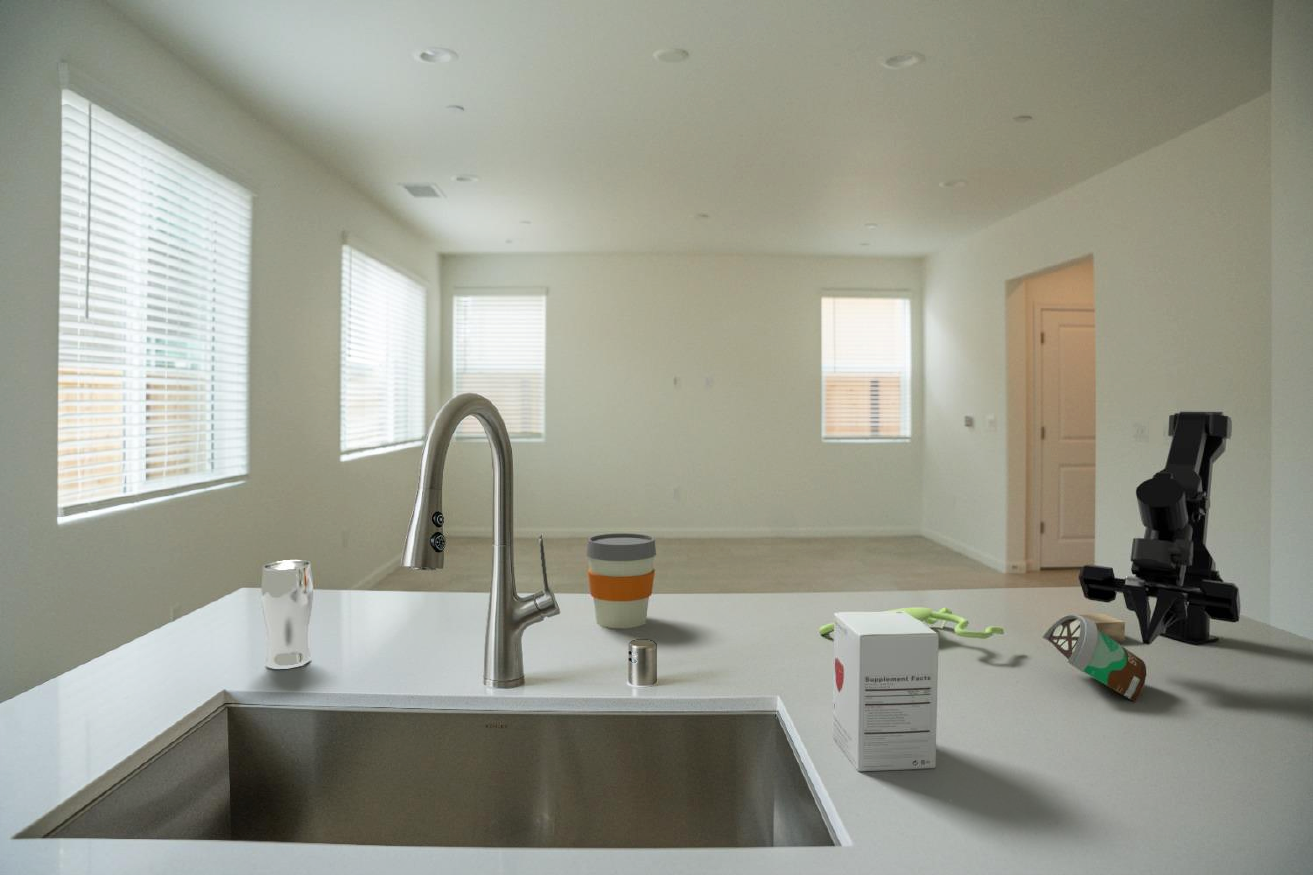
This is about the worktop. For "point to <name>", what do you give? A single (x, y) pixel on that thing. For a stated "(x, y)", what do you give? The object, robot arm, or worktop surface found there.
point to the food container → (1098, 655)
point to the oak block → (1108, 625)
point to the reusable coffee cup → (621, 578)
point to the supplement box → (885, 690)
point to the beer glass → (287, 610)
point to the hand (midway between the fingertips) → (1145, 642)
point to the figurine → (932, 617)
